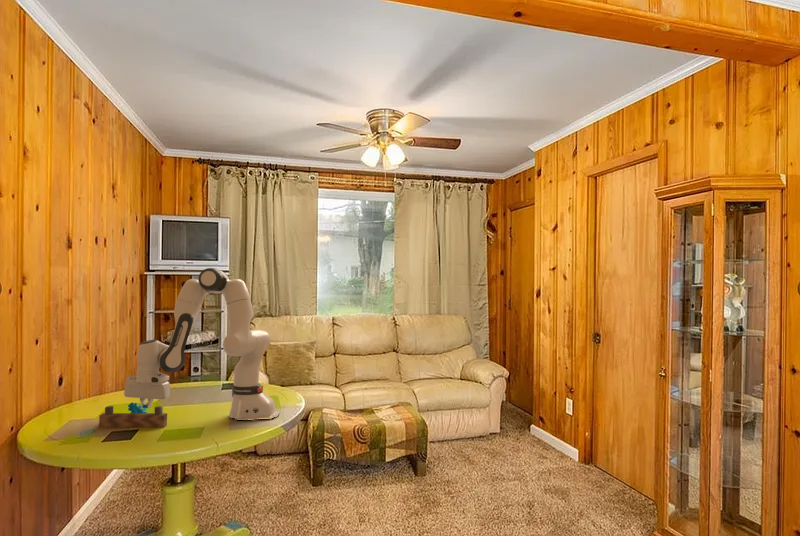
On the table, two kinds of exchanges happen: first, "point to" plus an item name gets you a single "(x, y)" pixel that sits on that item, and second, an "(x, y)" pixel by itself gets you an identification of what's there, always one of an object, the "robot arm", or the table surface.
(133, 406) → the gear
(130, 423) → the stop bar
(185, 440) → the table surface
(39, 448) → the table surface
